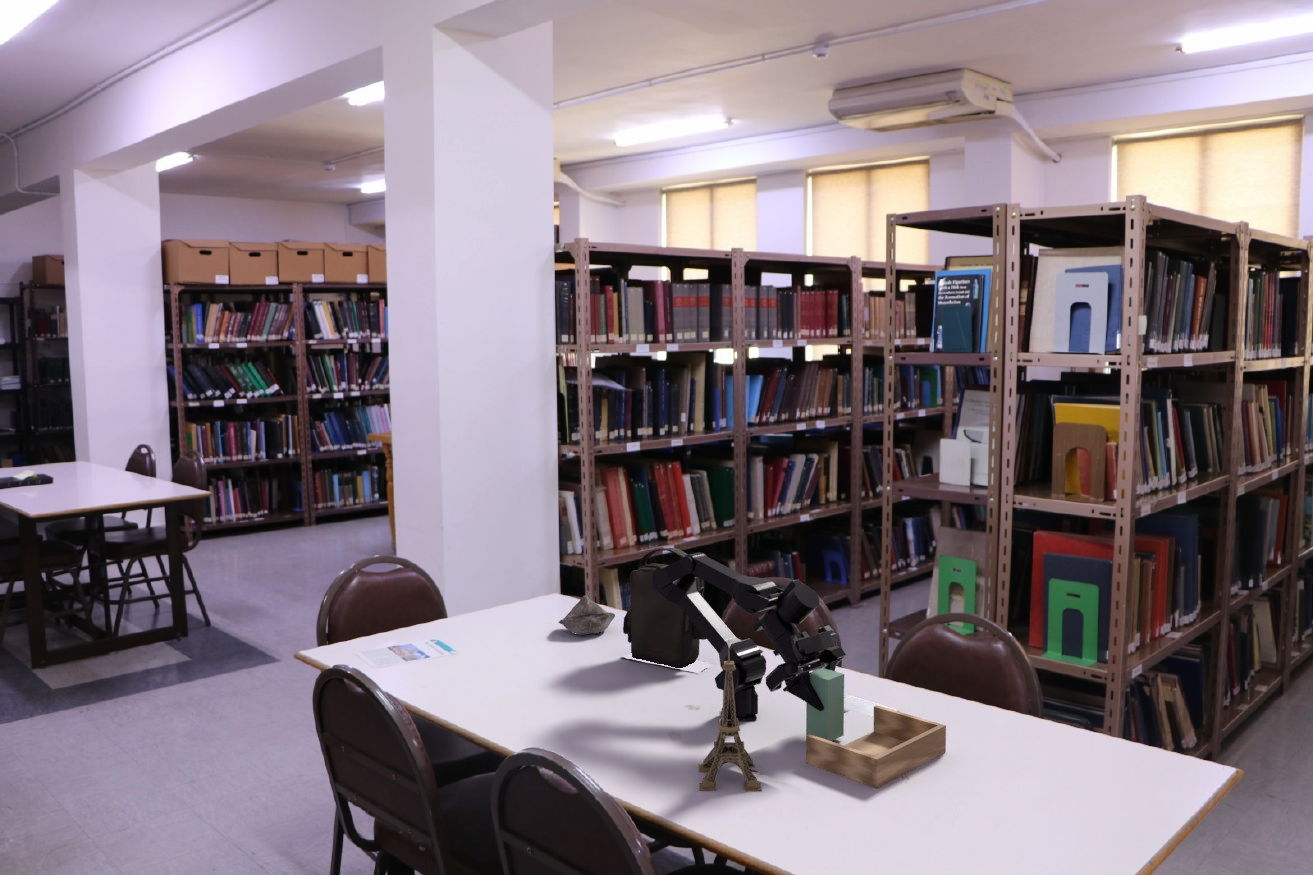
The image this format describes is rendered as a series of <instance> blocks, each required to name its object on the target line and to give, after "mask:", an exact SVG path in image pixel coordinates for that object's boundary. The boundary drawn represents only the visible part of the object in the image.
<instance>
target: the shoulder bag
mask: <svg viewBox="0 0 1313 875" xmlns="http://www.w3.org/2000/svg"><path fill="white" fill-rule="evenodd" d="M659 551H660V552H661V551H667V552H670V553H672V554H674V555H675V554H676V555H677V556H678V557H680V559H682V558H683V557H685V556H686V555H688V554H687V553H686V552H685V551H684V550H681V549H679V548H678V547H662V546H660V547H657V548H656V547H655V548H653V549H652V550H651V551H649V552H648V553H646V554H645V555H643V556H642V558H641V559H640V561H639V563H638V565H637V568H636V570H635V569H634V570H632V571H631V573H630V574H629V584H630V593H629V594H630V605H628V606H626V611H627V612H626V613H625V615H624V617H623V625H622V626H623V627H622V631H623V632H622V633H623V634H624V635H627V642H628V643H630V653H632V657H633V658H636V659H642V660H646V661H650V662H654V663H657V664H664V665H668V666H671V667H675V668H683V667H686V666H688V665H689V664H692V663H694V662H695V661H696V660H698V658H699V656H700V641H704V640H707V639H706V637H705V636H704V635H703V634H702V633H701V631H700V630H699V629H698V628H697V626H696V625H695V624H694V623H693V622H692V620H691V619H690V618H689V617H688V616H687V614H686V613H685V612H684V611H683V609H682V608H681V607H680V606H679V605H678V604H675V603H673V602H671V601H669V600H666V599H665V598H664V597H663V596H661V595H660V594H659V593H658V592H657V591H656V590H655V588H654V587H653V582H652V578H653V574H654V571H655V570H656V569H657V568H659V567H664V566H668V565H669V564H665V563H664V564H663V563H647V562H648V561H649V559H650V558H651V556H652V555H654V554H656V553H657V552H659ZM695 581H696V589H697V592H698V593H699V594H700V595H701V596H702V594H703V592H704V589H705V587H704V586H702V587H701V584H700V582H701V581H700V578H699V577H696V578H695Z"/></svg>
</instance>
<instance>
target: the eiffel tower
mask: <svg viewBox="0 0 1313 875" xmlns="http://www.w3.org/2000/svg"><path fill="white" fill-rule="evenodd" d="M723 670H725V671H726V672H725V684H724V696H723V695H722V708H723V710H722V709H721V714H722V715H721V718H719V719H718V730H719V731H718V736H717V739H716V740H714V741H713V747H712V749H711V750H710V751H709V753H708V754H707V755H706V757H705V758H704V759H703V762H702V763H701V764H698V772H699V773H706V774H705V776H704V777H703V778H702V781H701V782H699V792H716V791H717V788H716V787H717V786H716V783H717V782H716V779H717V776H718V773H719V769H720V768H722V766H724V765H726V764H734V765H736V766H737V767H739V769H740V770H741V773H742V774H743V777H744V789H745V792H762V791H763V789H762V784H761V782H759V781H758V778H757V777H756V776H755V775H754V774H753V773H759V771H757V770H754V769H752V768H750V767H755V766H756V765H755V763H754V760H753V759H752V757H751V755H750V754H749V753H748V751H747V750H746V749H745V742H744V741H742V738H741V737H740V734H739V732H740V731H741V728H740V720H738V718H737V719H736V710H735V697H734V685H733V673H732V671H734V670H736V669H735V665H734V661H730V652H729V650H728V661H724V665H723ZM729 696H730V710H731V720H728V704H729ZM726 737H733V740H734V742H731V741H730V742H729V741H727V742H726Z"/></svg>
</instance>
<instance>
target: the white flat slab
mask: <svg viewBox="0 0 1313 875" xmlns="http://www.w3.org/2000/svg"><path fill="white" fill-rule="evenodd" d="M876 705H878V706H881V707H884V708H888V709H891V710H895V711H898V712H901V711H900V710H899V709H895V708H892V707H889V706H886V705H883V704H881V703H877V702H873V701H870V700H867V699H863V698H859V697H858V696H857V697H856V696H853V695H852V694H851V695H850V694H849V695H847V696H844V714H846V713H848V712H854V713H858V714H861V715H864V716H867V717H871V718H874V706H876Z"/></svg>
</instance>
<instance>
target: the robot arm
mask: <svg viewBox="0 0 1313 875" xmlns="http://www.w3.org/2000/svg"><path fill="white" fill-rule="evenodd" d="M667 565H668V566H664V567H659V568H657V569H656V570H655V571H654V574H653V578H652V582H653V587H654V588H655V590H656V591H657V592H658V593H659V594H660V595H661V596H663V597H664V598H665V599H666V600H669V601H671V602H673V603H675V604H678V605H679V606H680V607H681V608H682V609H683V611H684V612H685V613H686V614H687V616H688V617H689V618H690V619H691V620H692V622H693V623H694V624H695V625H696V626H697V628H698V629H699V630H700V631H701V633H702V634H703V635H704V636H705V637H706V639H705V640H707V641H708V642H709V643H710V645H711V646H712V647H713V649H715V650H716V652H717V653H718V657H719V665H720V668H721V672H719V673H718V674H717V675H716V676H715V677H714V682H715V685H716V688H717V689H719V690H721V691H722V697H723V696H724V684H725V672H726V671H725V670H723V665H724V661H728V650H729V652H730V661H734V665H735V669H736V670H734V671H732V673H733V685H734V697H735V710H736V719H737V718H738V721H757V720H758V717H757V715H758V714H759V695H758V693H757V690H756V686H757V685H761V683H762V681H763V677H764V676H765V674H766V672H767V660H766V657H765V655H763V654H762V653H764V651H763V649H760V648H759V647H758V646H757V645H756V643H755V642H754V640H753V639H752V638H745V639H739V638H738V637H736V635H735V633H733V632H732V631H731V629H730V628H729V626H727V624H725V622H724V621H723V620H722V619H721V618H720V616H719V615H718V614H717V613H716V611H714V609H713V608H712V607H711V606H710V605H709V603H708V602H707V601H706V600H705V599H704V597H702V596H701V595H700V594H699V593H698V592H697V589H696V581H695V578H696V577H699V580H700V579H701V580H702V581H704V582H706V583H708V584H710V585H712V586H714V587H716V588H717V589H719V590H721V591H723V592H724V593H727V594H729V595H730V596H731V597H732V598H733V600H734V602H735V604H736V605H738V606H739V607H740V608H742V610H743V611H744V612H746V613H748V614H757V613H760V612H764V611H766V612H765V613H764V614H762V615H758V616H756V617H754V624H753V631H754V632H759V631H762V630H763V631H764V632H765V634H766V635H767V637H768V639H769V640H770V641H771V643H772V645H773V646H774V650H773V651H772V653H773V654H774V656H775V657H777V656H778V657H779V656H780V657H781V659H782V661H783V663H781V664H778V665H777V666H776V667H775V668H773V670H772V671H771V672H770V673H768V675H767V676H766V677H765V685H766V687H767V688H768V690H769V691H770V692H771V693H772V692H775V691H779V690H780V689H781V688H782V687H783V686H782V685H783V682H784V684H785V687H784V688H783V689H782V691H783V692H784V693H785V692H787V693H789V694H790V695H791V694H792V695H793V696H795V697H796V698H799V699H800V700H802V701H803V702H804V703H808V704H809V705H811V706H813V707H814V708H816V709H817V710H819V711H822V710H823V709H824V706H823V704H822V702H821V700H820V698H819V696H818V695H817V693H816V691H815V690H814V688H813V686H812V684H811V683H810V674H809V673H810V672H813V671H816V670H819V669H821V668H825V669H828V670H832V671H836V666H837V665H839V663H840V662H841V661H843V659H845V658H846V656H847V654H846V652H845V651H844V649H843V648H842V647H841V646H838V645H836V644H835V641H836V640H837V634H836V633H835V630H834V629H833V628H832V627H831V625H825V626H822V627H819V628H818V629H817V633H816V634H813V635H810V634H808V632H807V631H805V630H804V631H800V629H799V628H798V627H797V626H796V625H799V624H801V623H803V622H804V621H805V620H806V618H808V616H810V615H811V614H812V613H813V612H814V611H815V610H816V609H817V608H818V607H819V605H820V597H819V595H818V593H817V592H816V590H814V589H813V588H811V587H810V586H809V585H807V584H804V583H802V582H801V581H800V579H794V580H791V581H790V582H789V584H787V586H786V587H785V588H784V589H783V588H780V587H778V586H777V584H775V582H774V581H772V580H768V579H766V578H762V577H757V576H747V575H744V574H741V573H740V572H738V571H736V570H734V569H732V568H730V567H728V566H726V565H725V564H722V563H720V562H718V561H716V560H715V559H713V558H710V557H709V556H707V554H706V553H703V552H695V553H690V554H687V555H686V556H685V557H683V558H680V559H679V560H677V561H674V562H672V563H670V564H667ZM722 710H723V707H722V708H721V711H722ZM728 720H731V710H730V696H729V704H728Z"/></svg>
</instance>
